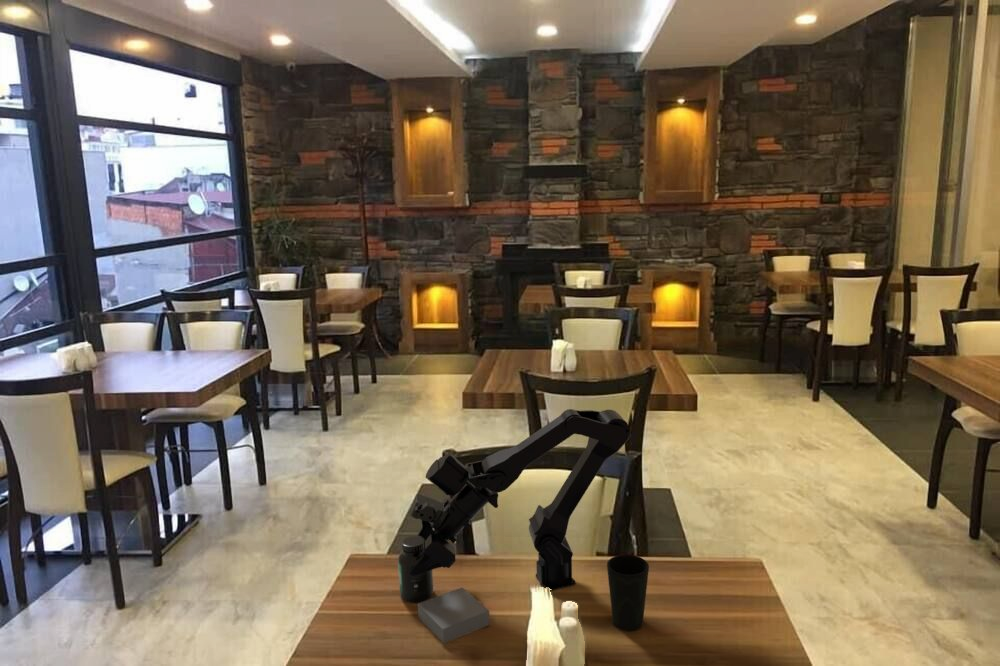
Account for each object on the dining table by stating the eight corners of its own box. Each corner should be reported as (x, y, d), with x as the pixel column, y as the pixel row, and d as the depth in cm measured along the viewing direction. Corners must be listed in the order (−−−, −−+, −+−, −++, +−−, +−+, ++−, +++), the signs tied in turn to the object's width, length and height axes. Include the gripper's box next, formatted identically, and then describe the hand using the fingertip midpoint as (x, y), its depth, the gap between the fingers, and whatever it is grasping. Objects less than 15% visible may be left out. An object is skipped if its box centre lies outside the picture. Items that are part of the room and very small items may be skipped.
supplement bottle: (396, 603, 150) (392, 548, 147) (404, 585, 156) (401, 532, 154) (430, 604, 149) (426, 549, 146) (436, 586, 155) (433, 533, 153)
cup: (648, 636, 136) (648, 577, 134) (606, 632, 138) (605, 573, 135) (648, 612, 144) (649, 555, 141) (608, 609, 145) (608, 553, 143)
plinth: (462, 600, 150) (462, 587, 149) (489, 624, 142) (489, 610, 141) (418, 618, 144) (417, 604, 144) (443, 643, 136) (442, 629, 136)
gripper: (431, 465, 157) (381, 518, 158) (435, 503, 139) (379, 562, 140) (470, 497, 160) (420, 549, 161) (478, 538, 142) (423, 596, 143)
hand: (410, 562), depth 151 cm, fingers open, 9 cm apart
